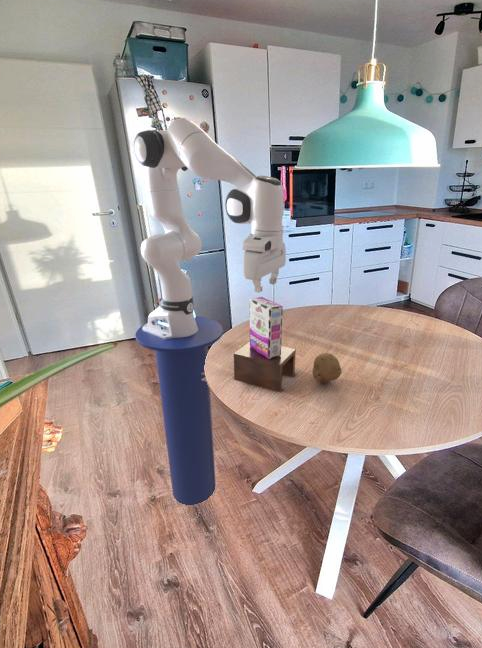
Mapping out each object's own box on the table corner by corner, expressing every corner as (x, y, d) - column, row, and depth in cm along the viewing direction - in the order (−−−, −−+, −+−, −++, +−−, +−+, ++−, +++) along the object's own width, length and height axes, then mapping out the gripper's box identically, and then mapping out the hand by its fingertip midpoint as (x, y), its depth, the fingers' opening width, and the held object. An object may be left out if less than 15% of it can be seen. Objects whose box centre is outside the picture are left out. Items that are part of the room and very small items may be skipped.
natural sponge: (344, 380, 126) (347, 353, 122) (332, 392, 119) (335, 364, 115) (319, 372, 130) (321, 346, 126) (307, 384, 123) (308, 356, 119)
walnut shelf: (234, 379, 124) (233, 353, 120) (252, 364, 134) (252, 339, 130) (279, 391, 119) (280, 364, 115) (294, 374, 129) (295, 349, 125)
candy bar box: (282, 356, 120) (283, 305, 113) (268, 360, 117) (269, 309, 110) (261, 343, 128) (262, 295, 121) (249, 346, 125) (248, 298, 118)
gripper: (272, 233, 118) (271, 277, 123) (238, 244, 100) (239, 295, 106) (291, 235, 115) (289, 280, 121) (260, 247, 98) (259, 298, 104)
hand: (265, 287), depth 114 cm, fingers open, 8 cm apart
